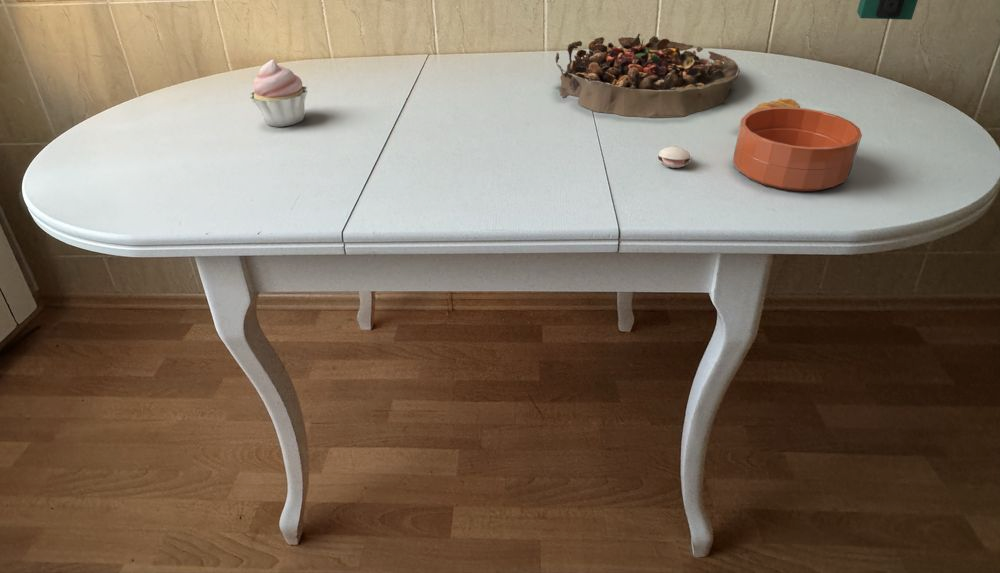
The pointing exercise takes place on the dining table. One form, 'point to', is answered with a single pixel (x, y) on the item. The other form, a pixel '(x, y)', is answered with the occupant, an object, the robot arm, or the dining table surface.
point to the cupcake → (279, 95)
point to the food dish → (646, 78)
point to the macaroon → (674, 157)
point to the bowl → (796, 148)
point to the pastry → (777, 104)
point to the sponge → (869, 8)
